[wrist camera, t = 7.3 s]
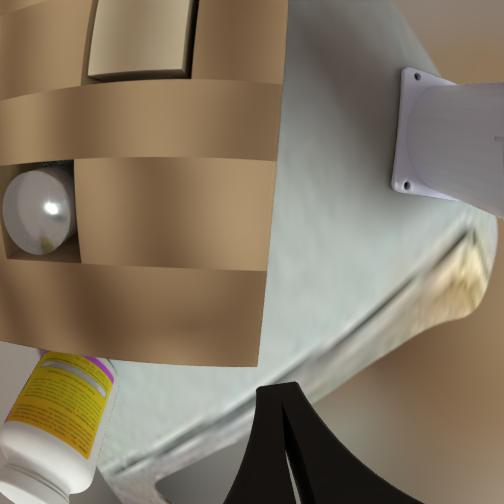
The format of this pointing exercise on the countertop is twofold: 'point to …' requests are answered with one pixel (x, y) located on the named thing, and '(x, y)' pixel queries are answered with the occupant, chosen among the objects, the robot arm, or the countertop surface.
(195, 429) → the countertop surface
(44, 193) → the peg steel
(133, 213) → the oak block
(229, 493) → the robot arm
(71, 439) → the supplement bottle
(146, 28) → the peg maple
